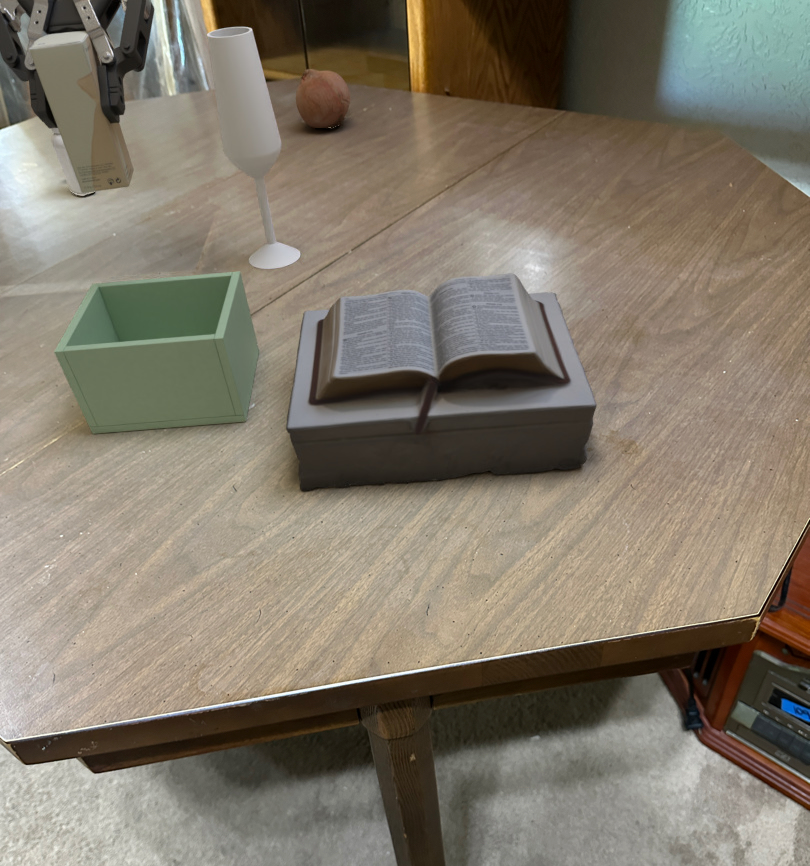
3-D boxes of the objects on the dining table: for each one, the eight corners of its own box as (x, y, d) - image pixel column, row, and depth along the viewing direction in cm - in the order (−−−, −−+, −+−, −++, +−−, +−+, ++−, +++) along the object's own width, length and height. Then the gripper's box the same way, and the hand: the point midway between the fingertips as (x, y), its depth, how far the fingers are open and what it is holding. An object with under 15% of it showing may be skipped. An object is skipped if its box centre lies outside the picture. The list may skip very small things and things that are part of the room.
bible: (587, 509, 56) (604, 405, 49) (259, 489, 60) (231, 390, 53) (584, 350, 72) (597, 253, 65) (324, 343, 76) (309, 251, 69)
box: (129, 188, 64) (81, 41, 56) (80, 195, 64) (25, 48, 56) (134, 168, 68) (90, 27, 60) (88, 174, 68) (37, 33, 60)
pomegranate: (308, 147, 131) (275, 91, 125) (344, 118, 133) (314, 62, 127) (331, 137, 123) (298, 77, 118) (370, 106, 125) (338, 46, 120)
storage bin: (92, 434, 68) (53, 351, 61) (123, 361, 76) (92, 283, 70) (246, 421, 67) (223, 337, 61) (259, 350, 76) (240, 270, 70)
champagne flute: (271, 273, 89) (223, 42, 72) (237, 260, 92) (184, 36, 75) (311, 253, 92) (274, 27, 75) (277, 241, 95) (235, 22, 78)
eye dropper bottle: (66, 199, 111) (33, 113, 103) (71, 187, 115) (39, 102, 107) (95, 195, 112) (64, 109, 103) (99, 183, 116) (69, 98, 107)
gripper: (-51, -116, 57) (-32, 102, 57) (129, -132, 57) (148, 86, 57) (3, -41, 64) (20, 151, 64) (162, -55, 64) (178, 137, 64)
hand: (80, 119), depth 61 cm, fingers closed on box, 4 cm apart
